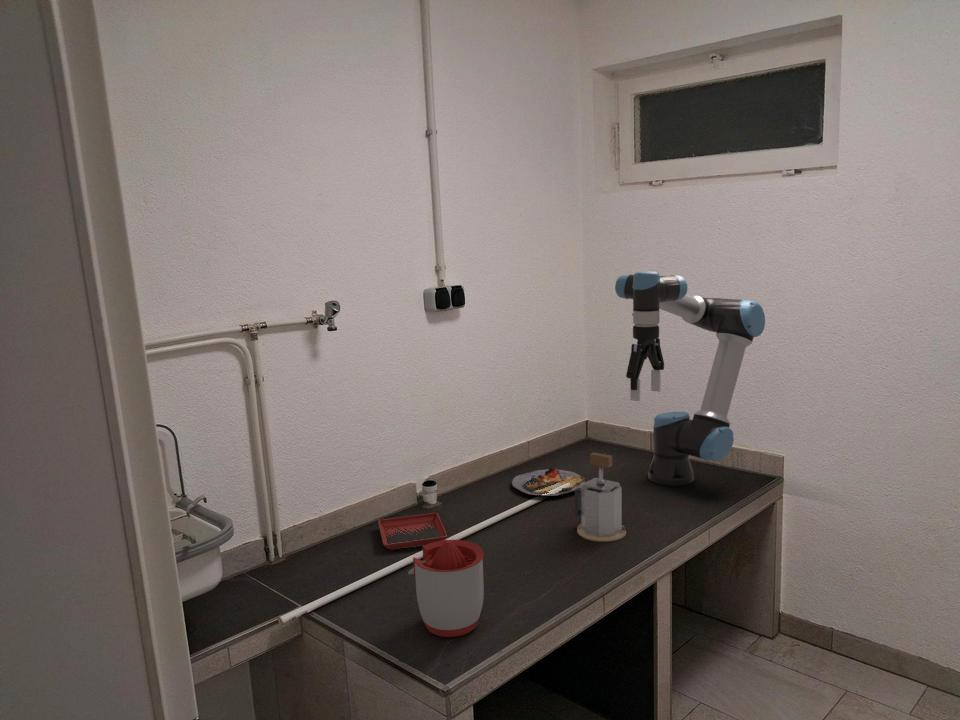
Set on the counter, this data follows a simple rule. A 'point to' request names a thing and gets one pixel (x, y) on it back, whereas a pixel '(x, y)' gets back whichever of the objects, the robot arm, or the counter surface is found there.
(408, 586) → the counter surface
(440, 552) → the citrus juicer
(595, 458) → the plunger
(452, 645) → the counter surface
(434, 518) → the plant saucer
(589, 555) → the counter surface
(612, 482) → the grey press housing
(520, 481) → the food plate
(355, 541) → the counter surface
